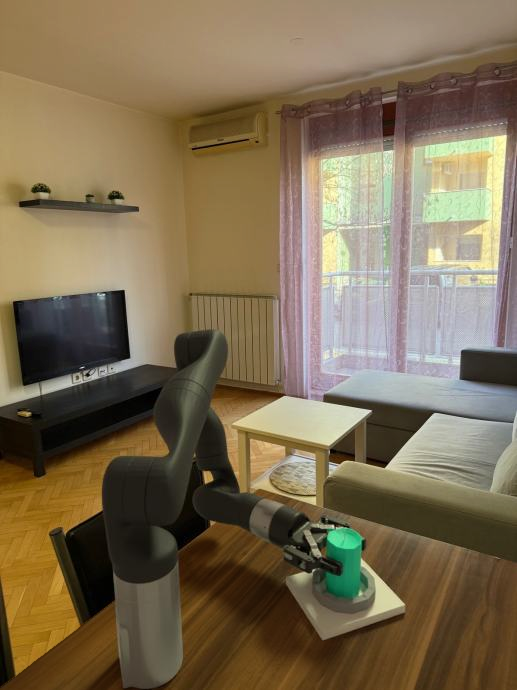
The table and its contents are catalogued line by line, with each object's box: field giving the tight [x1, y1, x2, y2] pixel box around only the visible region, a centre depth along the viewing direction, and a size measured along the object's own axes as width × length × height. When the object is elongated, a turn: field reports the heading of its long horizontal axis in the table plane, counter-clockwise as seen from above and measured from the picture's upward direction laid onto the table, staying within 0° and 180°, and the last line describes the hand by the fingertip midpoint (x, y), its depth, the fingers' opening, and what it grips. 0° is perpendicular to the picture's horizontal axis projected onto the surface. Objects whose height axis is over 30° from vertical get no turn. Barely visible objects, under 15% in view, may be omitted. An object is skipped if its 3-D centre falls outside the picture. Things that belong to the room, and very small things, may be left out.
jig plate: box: [285, 557, 406, 641], centre depth 85 cm, size 16×14×4 cm
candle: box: [326, 528, 363, 598], centre depth 84 cm, size 6×6×12 cm
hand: (354, 557), depth 83 cm, fingers open, 8 cm apart
